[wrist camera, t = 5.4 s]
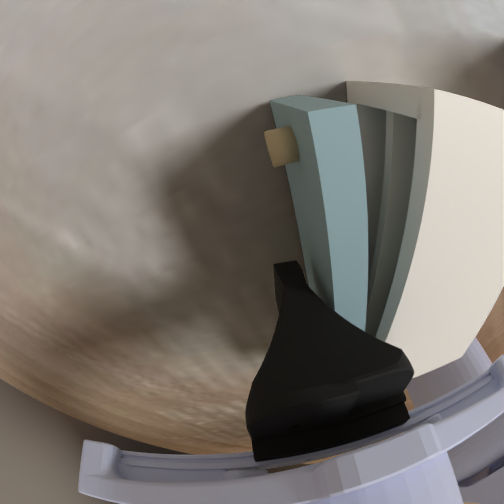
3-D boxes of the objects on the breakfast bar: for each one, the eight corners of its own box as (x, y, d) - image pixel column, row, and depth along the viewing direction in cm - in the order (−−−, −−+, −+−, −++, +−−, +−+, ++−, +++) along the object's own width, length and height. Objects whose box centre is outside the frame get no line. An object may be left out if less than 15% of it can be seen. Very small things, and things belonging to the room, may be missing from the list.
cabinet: (424, 299, 18) (461, 357, 13) (333, 321, 18) (360, 395, 13) (465, 100, 10) (546, 129, 5) (346, 81, 10) (434, 88, 5)
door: (331, 325, 18) (357, 395, 13) (304, 333, 18) (323, 405, 14) (297, 94, 10) (355, 104, 5) (250, 105, 10) (272, 119, 5)
